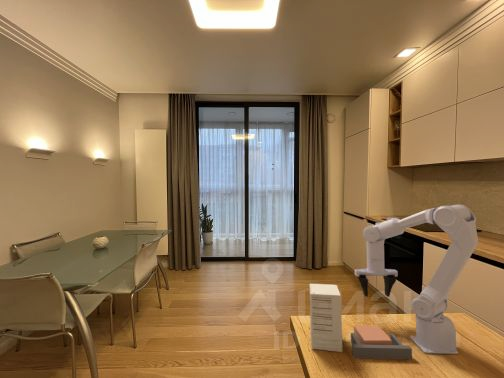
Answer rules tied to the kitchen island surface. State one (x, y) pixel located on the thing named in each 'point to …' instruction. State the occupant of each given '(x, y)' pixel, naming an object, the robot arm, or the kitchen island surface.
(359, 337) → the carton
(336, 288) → the supplement box
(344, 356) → the kitchen island surface
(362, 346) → the grey tray
